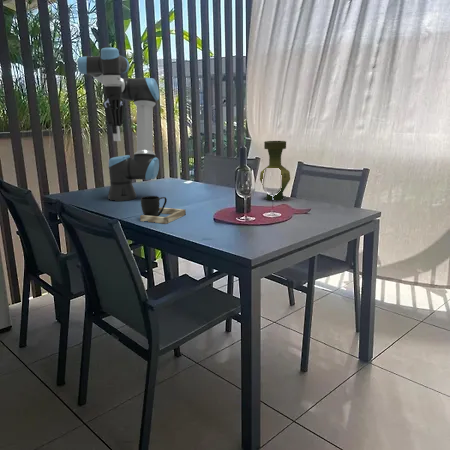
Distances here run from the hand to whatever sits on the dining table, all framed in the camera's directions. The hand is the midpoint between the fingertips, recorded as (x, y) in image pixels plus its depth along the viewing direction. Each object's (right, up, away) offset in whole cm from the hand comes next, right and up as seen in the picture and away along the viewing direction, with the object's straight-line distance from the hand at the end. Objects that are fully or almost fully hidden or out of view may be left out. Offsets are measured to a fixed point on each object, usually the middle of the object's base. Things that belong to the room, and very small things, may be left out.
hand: (117, 140), depth 200 cm
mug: (+16, -35, +4) cm, 38 cm away
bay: (+20, -34, +3) cm, 40 cm away
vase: (+75, -24, +37) cm, 87 cm away
